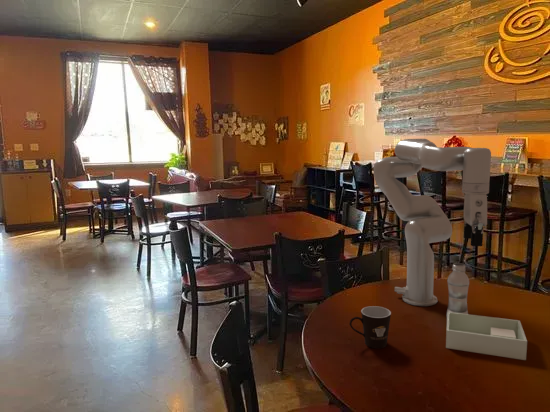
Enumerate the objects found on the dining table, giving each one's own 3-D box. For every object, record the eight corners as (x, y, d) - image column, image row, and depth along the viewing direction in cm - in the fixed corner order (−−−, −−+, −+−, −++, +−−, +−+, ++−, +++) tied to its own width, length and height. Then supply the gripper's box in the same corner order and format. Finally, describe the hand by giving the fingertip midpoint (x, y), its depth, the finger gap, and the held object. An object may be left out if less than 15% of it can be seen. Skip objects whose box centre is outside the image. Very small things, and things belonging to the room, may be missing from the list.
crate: (445, 349, 120) (446, 330, 119) (446, 329, 133) (447, 311, 132) (525, 362, 112) (527, 341, 111) (518, 339, 125) (519, 320, 124)
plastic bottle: (470, 328, 133) (473, 268, 130) (448, 326, 135) (450, 267, 132) (465, 319, 140) (467, 262, 137) (444, 318, 141) (446, 261, 138)
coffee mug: (391, 338, 128) (391, 307, 126) (389, 352, 120) (389, 319, 118) (353, 334, 132) (353, 304, 130) (349, 346, 124) (349, 314, 122)
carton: (491, 347, 119) (492, 334, 119) (490, 339, 124) (490, 327, 123) (515, 351, 117) (516, 337, 116) (513, 343, 122) (513, 330, 121)
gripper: (497, 191, 119) (493, 249, 122) (481, 185, 136) (478, 236, 139) (468, 191, 121) (465, 248, 124) (456, 185, 138) (454, 235, 140)
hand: (472, 241), depth 131 cm, fingers open, 9 cm apart
